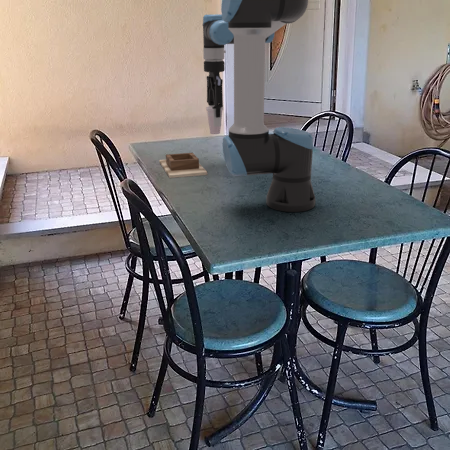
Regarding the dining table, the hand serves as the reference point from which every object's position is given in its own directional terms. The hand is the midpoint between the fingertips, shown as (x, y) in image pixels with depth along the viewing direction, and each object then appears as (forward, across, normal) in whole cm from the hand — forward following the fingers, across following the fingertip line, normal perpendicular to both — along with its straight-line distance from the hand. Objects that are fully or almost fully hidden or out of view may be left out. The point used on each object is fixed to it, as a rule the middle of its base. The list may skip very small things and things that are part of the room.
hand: (214, 124), depth 199 cm
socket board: (+16, 0, +13) cm, 21 cm away
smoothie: (+4, 0, 0) cm, 4 cm away
